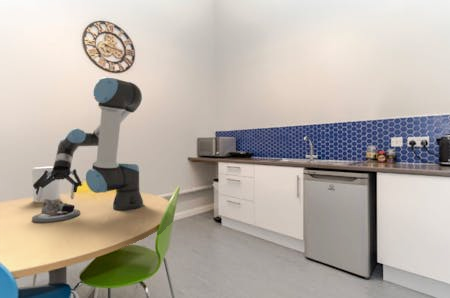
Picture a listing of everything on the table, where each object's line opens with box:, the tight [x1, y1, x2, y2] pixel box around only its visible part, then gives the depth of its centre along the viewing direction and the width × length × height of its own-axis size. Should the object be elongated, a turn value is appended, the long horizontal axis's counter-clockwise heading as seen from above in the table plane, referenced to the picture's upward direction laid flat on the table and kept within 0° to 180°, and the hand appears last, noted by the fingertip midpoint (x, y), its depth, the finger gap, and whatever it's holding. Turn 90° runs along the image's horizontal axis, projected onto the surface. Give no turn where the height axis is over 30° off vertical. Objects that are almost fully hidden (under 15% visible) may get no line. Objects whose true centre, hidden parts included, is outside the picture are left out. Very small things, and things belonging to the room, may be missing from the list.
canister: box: [31, 165, 61, 203], centre depth 159 cm, size 14×14×20 cm
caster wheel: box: [40, 199, 76, 216], centre depth 124 cm, size 7×11×10 cm
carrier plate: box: [31, 208, 81, 224], centre depth 122 cm, size 19×19×1 cm
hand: (55, 198), depth 121 cm, fingers open, 13 cm apart
